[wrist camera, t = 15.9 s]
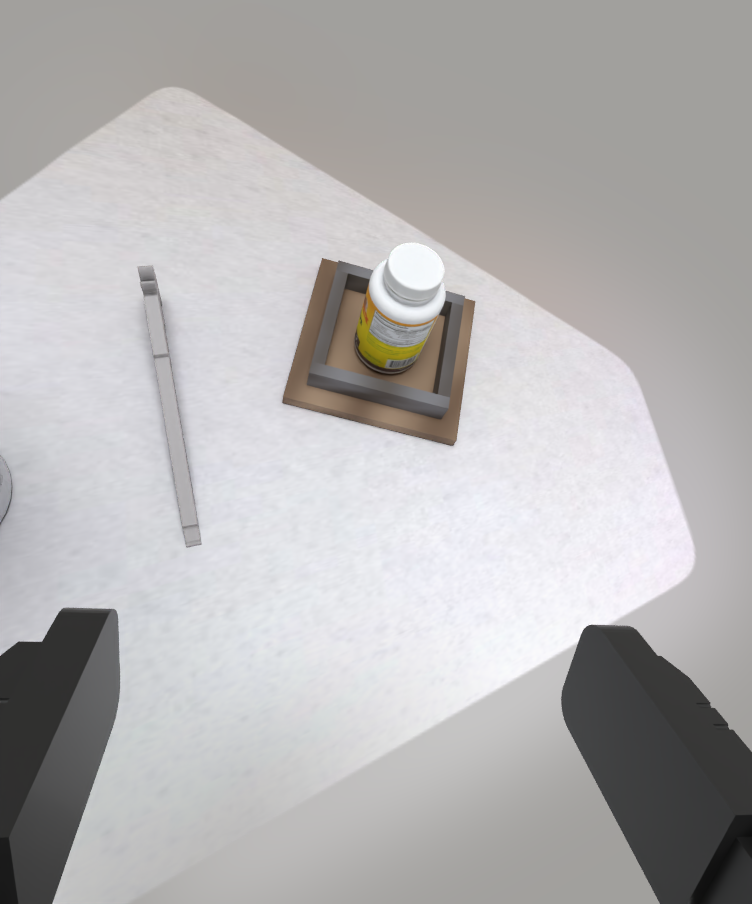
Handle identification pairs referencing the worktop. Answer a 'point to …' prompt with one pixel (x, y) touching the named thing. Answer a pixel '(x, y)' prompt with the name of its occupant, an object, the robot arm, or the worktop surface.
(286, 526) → the worktop surface
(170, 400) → the caliper
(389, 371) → the supplement bottle
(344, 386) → the collar base
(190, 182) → the worktop surface
